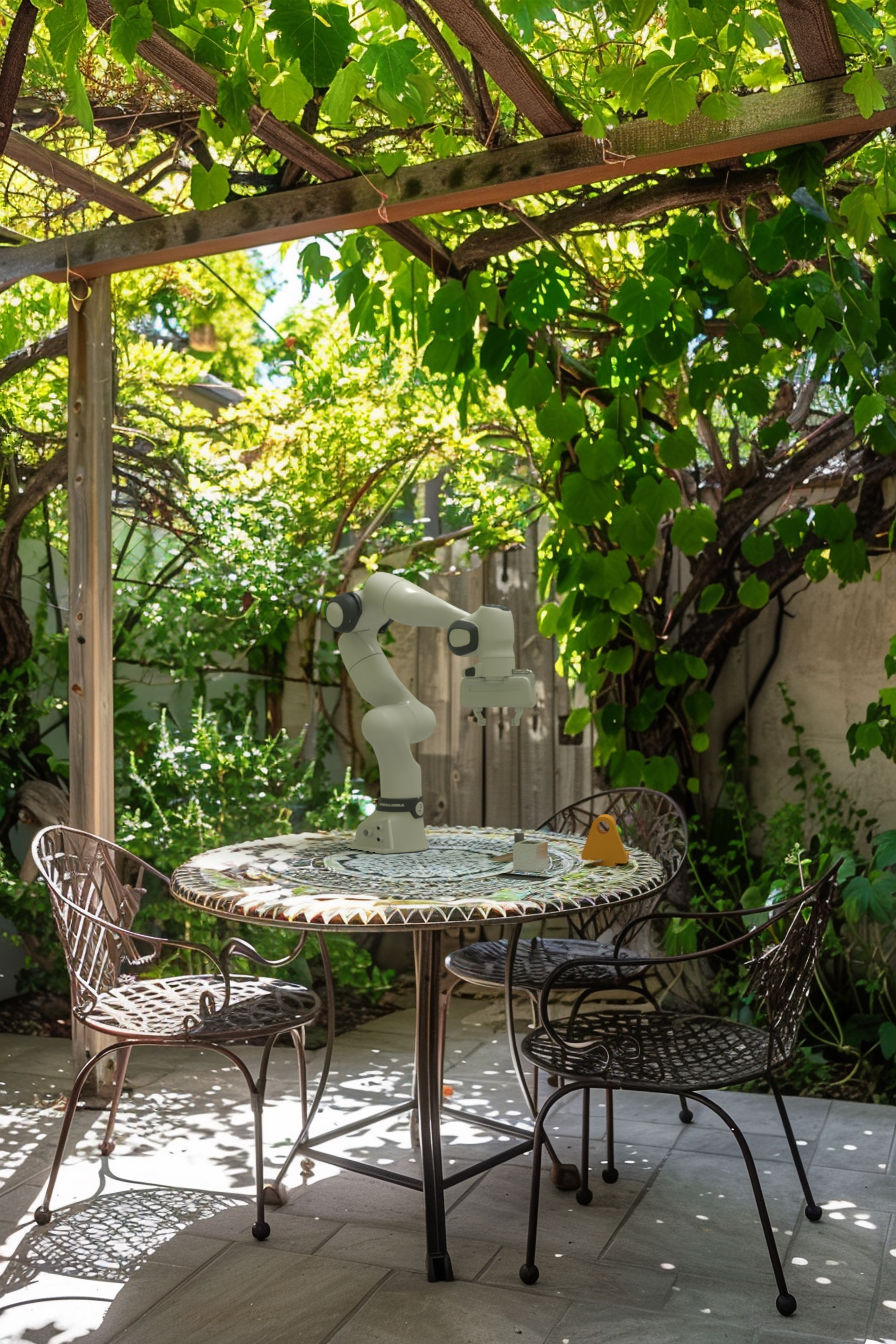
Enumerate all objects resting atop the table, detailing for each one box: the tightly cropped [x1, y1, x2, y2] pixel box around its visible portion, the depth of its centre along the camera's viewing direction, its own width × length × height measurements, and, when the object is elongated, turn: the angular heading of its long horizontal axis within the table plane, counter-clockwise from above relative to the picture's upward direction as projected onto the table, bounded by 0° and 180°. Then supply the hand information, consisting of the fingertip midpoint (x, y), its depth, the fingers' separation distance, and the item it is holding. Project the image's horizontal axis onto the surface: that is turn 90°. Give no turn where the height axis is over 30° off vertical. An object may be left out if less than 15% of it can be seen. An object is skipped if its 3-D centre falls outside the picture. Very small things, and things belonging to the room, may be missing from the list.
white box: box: [512, 839, 549, 876], centre depth 289 cm, size 6×6×7 cm
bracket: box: [580, 813, 630, 867], centre depth 303 cm, size 11×7×12 cm, turn 75°
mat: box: [495, 872, 554, 882], centre depth 289 cm, size 12×12×1 cm
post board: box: [487, 832, 552, 863], centre depth 306 cm, size 12×12×8 cm
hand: (498, 725), depth 306 cm, fingers open, 8 cm apart
